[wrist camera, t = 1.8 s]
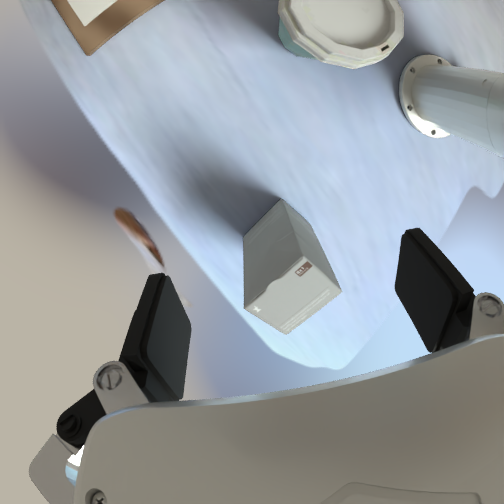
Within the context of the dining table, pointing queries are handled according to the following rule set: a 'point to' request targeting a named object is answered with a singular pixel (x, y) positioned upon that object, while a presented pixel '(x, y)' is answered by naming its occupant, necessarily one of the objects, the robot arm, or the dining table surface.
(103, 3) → the pad
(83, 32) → the board
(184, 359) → the robot arm
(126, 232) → the dining table surface
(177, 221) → the dining table surface
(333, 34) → the disposable coffee cup
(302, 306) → the skincare box
